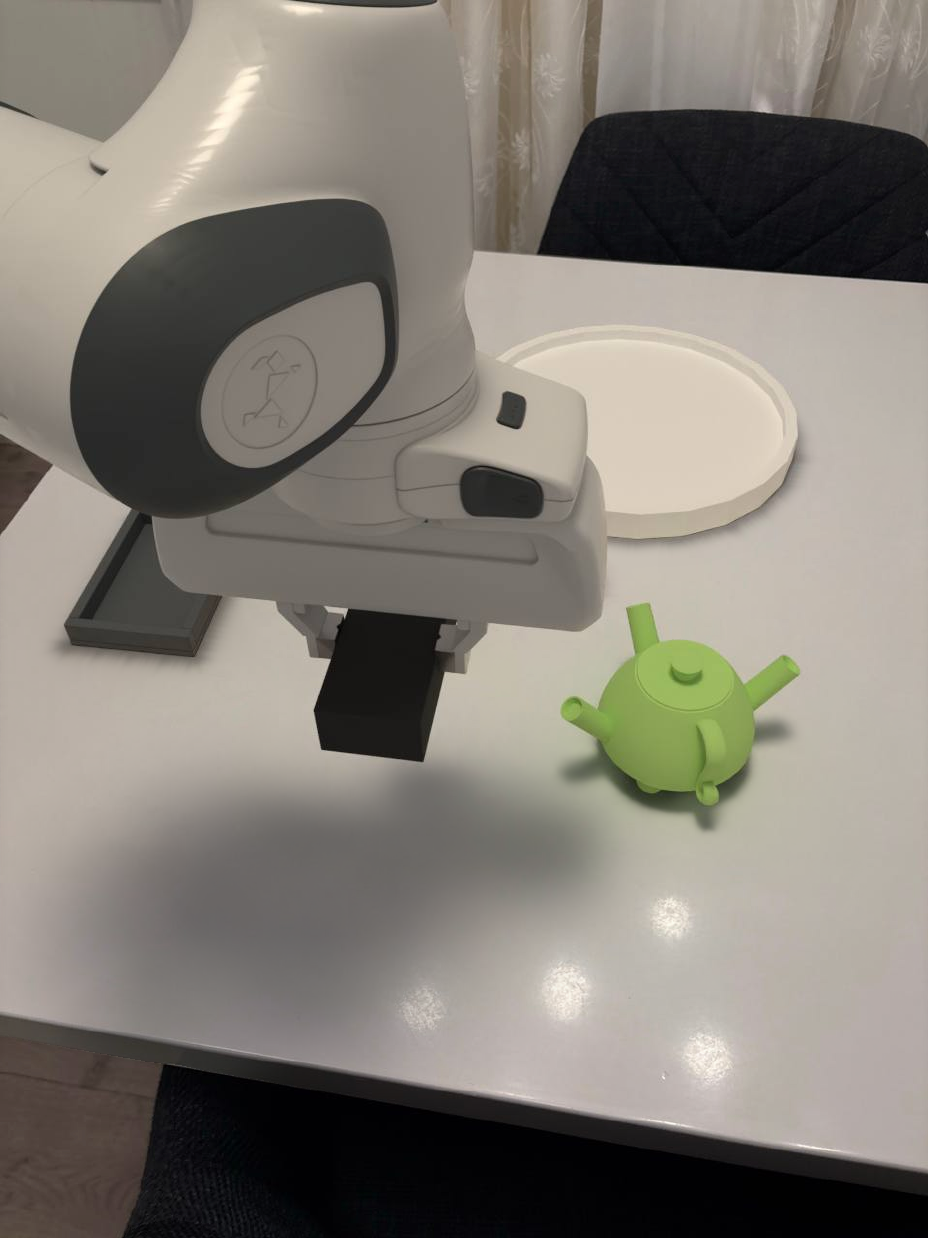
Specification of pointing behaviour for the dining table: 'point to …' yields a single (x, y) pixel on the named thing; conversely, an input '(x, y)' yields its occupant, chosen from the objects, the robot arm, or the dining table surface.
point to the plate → (670, 424)
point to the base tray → (138, 600)
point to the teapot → (677, 712)
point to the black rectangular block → (381, 686)
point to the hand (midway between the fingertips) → (391, 656)
